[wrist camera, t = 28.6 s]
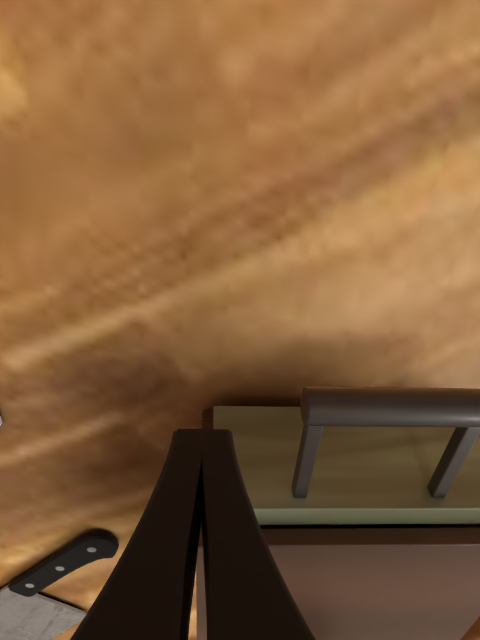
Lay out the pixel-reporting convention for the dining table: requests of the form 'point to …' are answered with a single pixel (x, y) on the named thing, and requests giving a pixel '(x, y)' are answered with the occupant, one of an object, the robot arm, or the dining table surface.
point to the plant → (473, 631)
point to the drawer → (361, 457)
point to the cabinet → (373, 579)
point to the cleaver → (34, 609)
